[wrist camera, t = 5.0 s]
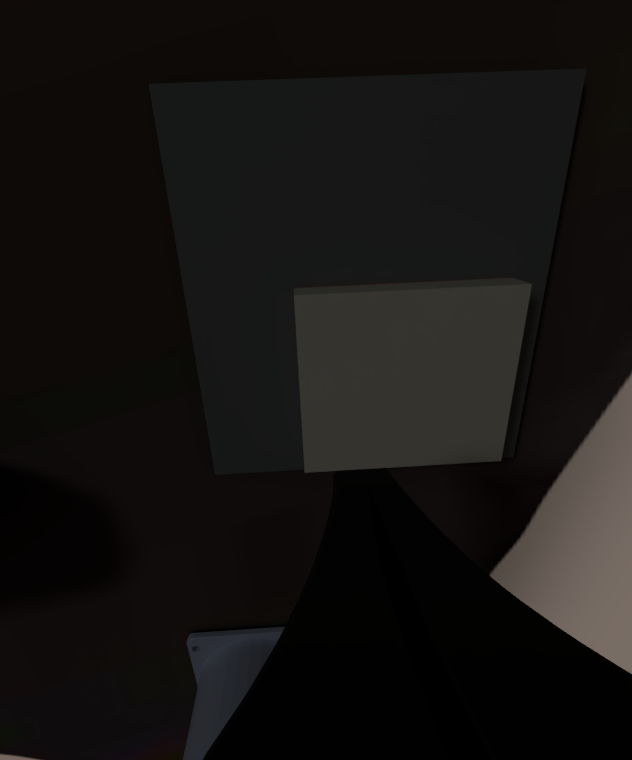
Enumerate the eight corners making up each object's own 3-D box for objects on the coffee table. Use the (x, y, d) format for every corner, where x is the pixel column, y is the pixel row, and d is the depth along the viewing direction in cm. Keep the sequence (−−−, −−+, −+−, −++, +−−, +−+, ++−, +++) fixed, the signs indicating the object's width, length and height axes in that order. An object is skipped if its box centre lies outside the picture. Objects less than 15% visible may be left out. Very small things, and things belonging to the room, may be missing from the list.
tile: (304, 452, 20) (486, 442, 20) (304, 472, 18) (501, 461, 18) (293, 287, 16) (511, 276, 17) (293, 295, 15) (531, 283, 15)
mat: (507, 450, 21) (513, 457, 20) (217, 467, 20) (215, 474, 20) (575, 73, 14) (586, 68, 14) (154, 88, 14) (148, 83, 13)
